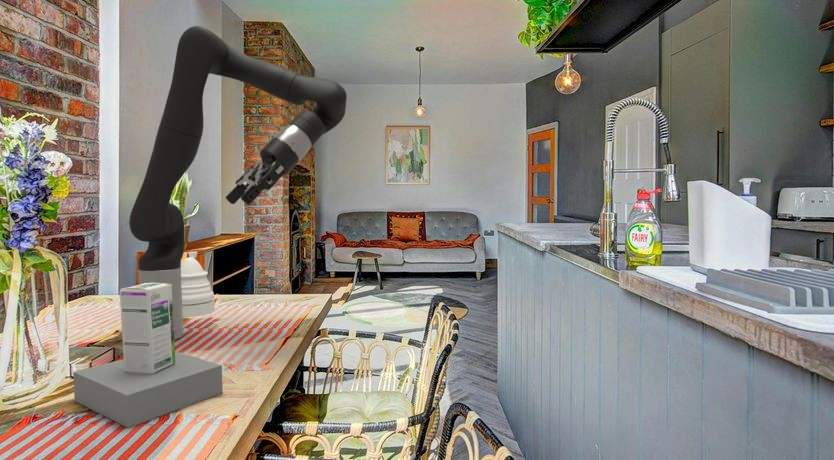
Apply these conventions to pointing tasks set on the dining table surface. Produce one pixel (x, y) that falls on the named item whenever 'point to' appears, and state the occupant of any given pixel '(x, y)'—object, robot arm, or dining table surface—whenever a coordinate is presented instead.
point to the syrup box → (147, 327)
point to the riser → (146, 389)
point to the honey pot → (195, 288)
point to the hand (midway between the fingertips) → (236, 201)
